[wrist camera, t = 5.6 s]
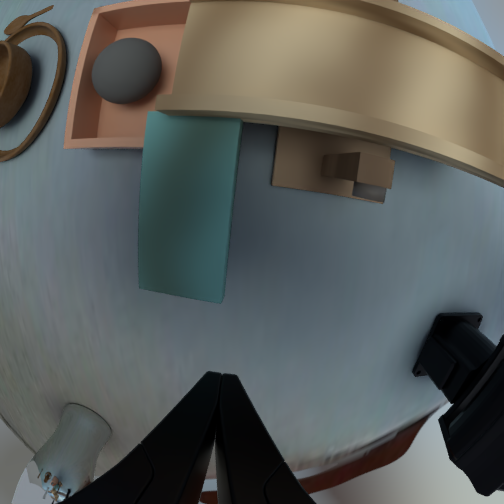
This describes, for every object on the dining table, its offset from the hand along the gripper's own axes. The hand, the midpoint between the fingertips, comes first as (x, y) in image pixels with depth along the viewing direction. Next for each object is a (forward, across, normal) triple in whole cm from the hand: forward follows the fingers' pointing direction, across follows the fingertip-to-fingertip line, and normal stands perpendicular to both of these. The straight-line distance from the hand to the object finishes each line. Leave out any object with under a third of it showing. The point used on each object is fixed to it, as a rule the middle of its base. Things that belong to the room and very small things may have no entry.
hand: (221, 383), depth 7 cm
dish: (+11, +6, -11) cm, 16 cm away
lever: (+5, -4, -7) cm, 10 cm away
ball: (+8, +7, -11) cm, 16 cm away
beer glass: (+11, +15, +21) cm, 28 cm away
